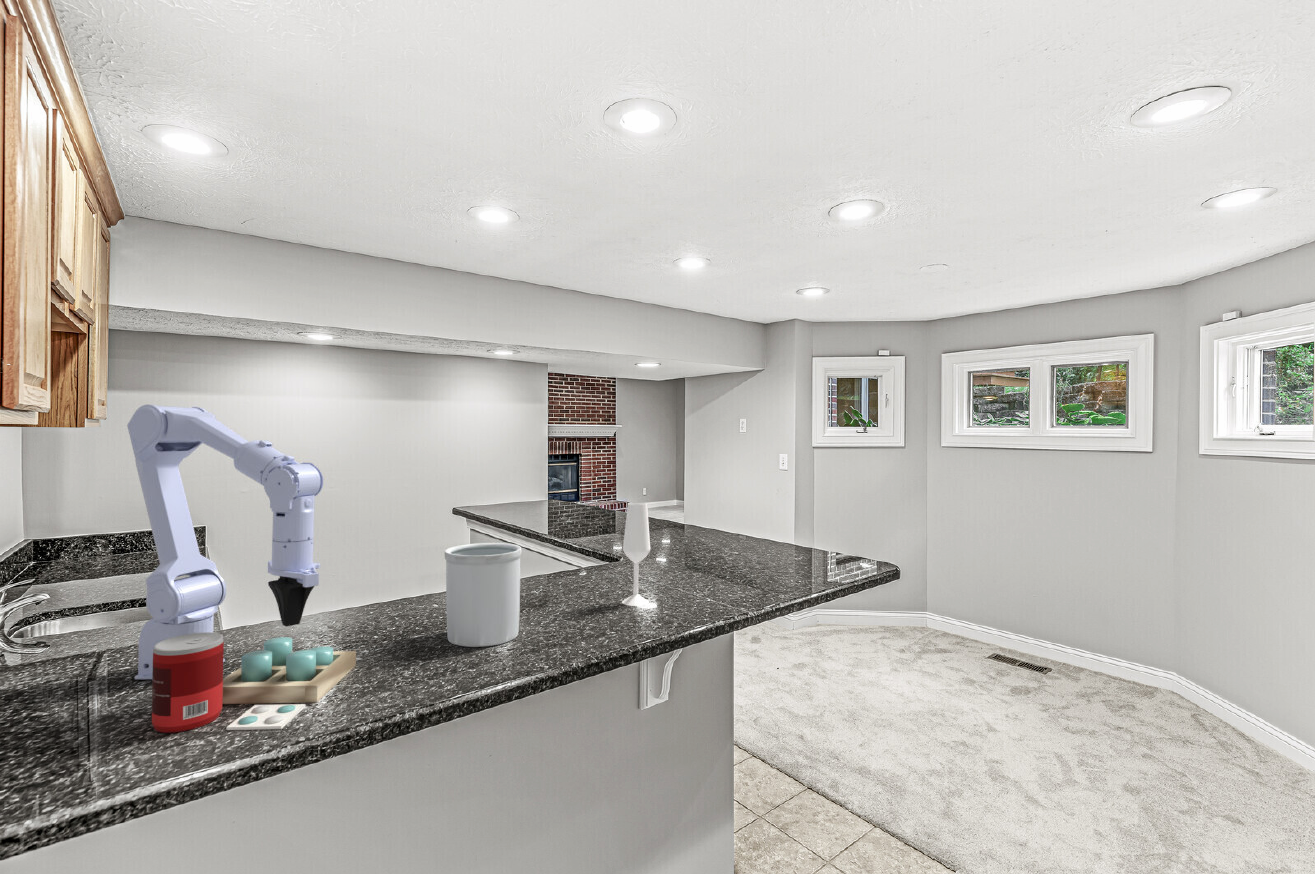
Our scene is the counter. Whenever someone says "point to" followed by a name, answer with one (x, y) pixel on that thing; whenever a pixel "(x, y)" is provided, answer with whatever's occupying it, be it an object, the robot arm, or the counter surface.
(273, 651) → the button
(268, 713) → the tile
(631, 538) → the champagne flute
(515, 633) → the utensil holder
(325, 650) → the button
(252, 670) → the button
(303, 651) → the button
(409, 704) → the counter surface
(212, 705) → the canned food
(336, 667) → the wooden compartment tray
